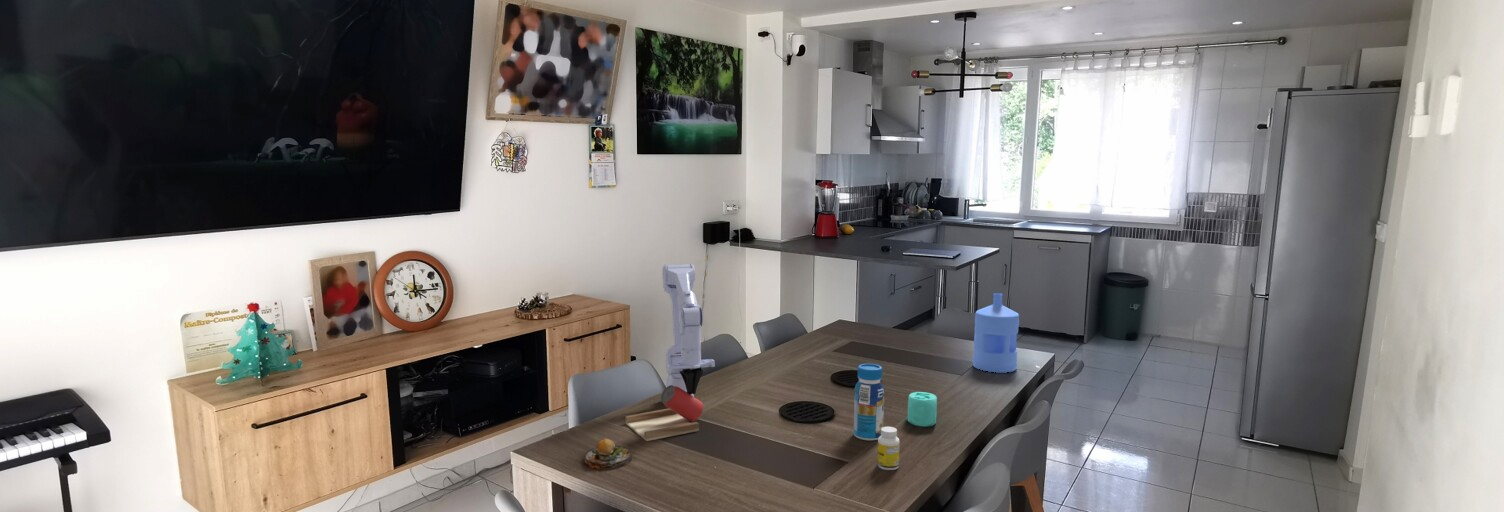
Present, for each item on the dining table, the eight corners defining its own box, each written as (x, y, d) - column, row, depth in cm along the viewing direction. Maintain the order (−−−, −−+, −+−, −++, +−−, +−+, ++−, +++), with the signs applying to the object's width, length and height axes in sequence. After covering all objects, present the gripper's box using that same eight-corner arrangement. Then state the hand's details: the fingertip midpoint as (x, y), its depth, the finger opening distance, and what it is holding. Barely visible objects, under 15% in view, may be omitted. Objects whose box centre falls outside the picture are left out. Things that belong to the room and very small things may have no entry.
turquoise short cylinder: (936, 418, 225) (937, 393, 224) (935, 428, 217) (936, 401, 216) (909, 416, 227) (909, 390, 226) (907, 425, 219) (908, 398, 218)
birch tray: (625, 423, 219) (625, 416, 219) (675, 414, 228) (675, 407, 227) (646, 441, 206) (646, 433, 206) (698, 430, 214) (698, 423, 214)
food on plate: (640, 457, 195) (640, 430, 194) (610, 474, 185) (609, 445, 184) (605, 448, 201) (605, 421, 200) (574, 464, 191) (573, 435, 190)
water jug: (964, 364, 285) (967, 291, 281) (999, 360, 289) (1003, 289, 286) (988, 375, 270) (992, 298, 266) (1025, 371, 274) (1029, 296, 271)
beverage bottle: (847, 432, 213) (849, 364, 210) (873, 429, 216) (875, 361, 213) (862, 443, 205) (864, 372, 202) (889, 439, 208) (891, 369, 205)
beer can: (704, 416, 218) (674, 397, 212) (688, 426, 221) (658, 407, 215) (704, 398, 223) (675, 379, 217) (689, 408, 226) (660, 389, 220)
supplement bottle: (874, 462, 192) (875, 425, 191) (895, 461, 193) (896, 425, 191) (880, 471, 187) (881, 433, 186) (901, 470, 187) (902, 432, 186)
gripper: (673, 354, 211) (674, 400, 213) (719, 347, 219) (719, 393, 220) (663, 348, 217) (664, 394, 219) (708, 343, 225) (708, 387, 226)
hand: (691, 393), depth 220 cm, fingers closed
